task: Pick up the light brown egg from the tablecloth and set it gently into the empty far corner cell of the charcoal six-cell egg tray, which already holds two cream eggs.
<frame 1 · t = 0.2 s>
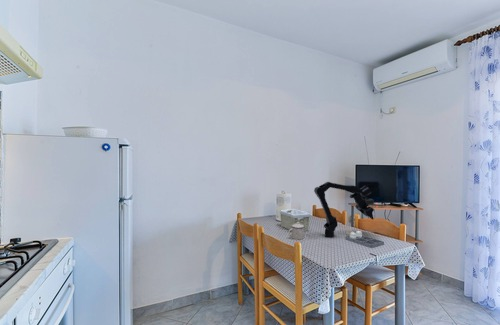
hand: (370, 217, 182), 15 cm above the table, tool tilted 30°, fingers open, 9 cm apart
cream egg 1: (352, 240, 173), point 1 cm above the table, touching egg tray
teacup with lid: (296, 238, 181), on the table
brown egg: (349, 236, 185), on the table
egg tray: (364, 243, 169), on the table
cream egg 2: (358, 238, 176), point 1 cm above the table, touching egg tray
storage basket: (294, 228, 207), on the table
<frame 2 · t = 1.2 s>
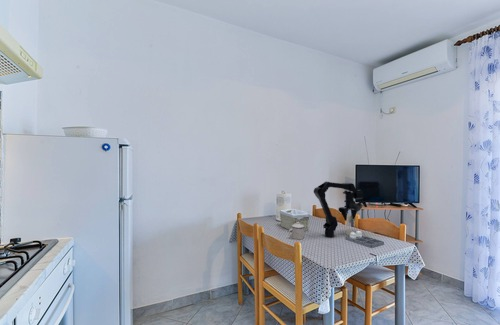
hand: (349, 219, 185), 12 cm above the table, tool pointing down, fingers open, 9 cm apart
nothing on the table moved.
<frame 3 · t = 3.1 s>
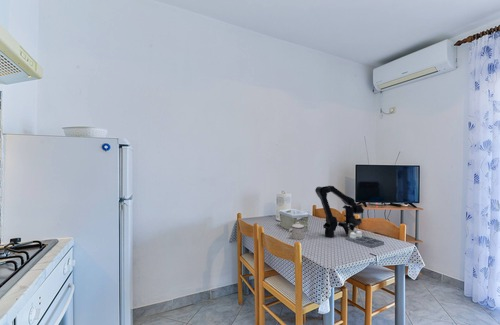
hand: (349, 234, 185), 1 cm above the table, tool pointing down, fingers closed on brown egg, 4 cm apart
brown egg: (349, 236, 185), on the table, touching gripper
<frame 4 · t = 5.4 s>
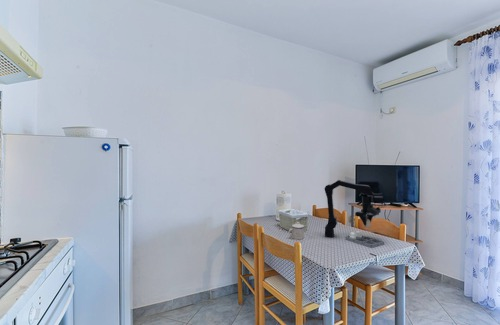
hand: (367, 225, 171), 12 cm above the table, tool pointing down, fingers closed on brown egg, 4 cm apart
brown egg: (367, 226, 171), point 11 cm above the table, touching gripper
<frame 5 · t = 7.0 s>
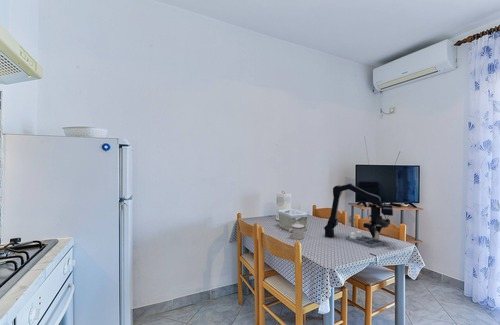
hand: (375, 237, 165), 6 cm above the table, tool pointing down, fingers closed on brown egg, 4 cm apart
brown egg: (375, 238, 165), point 4 cm above the table, touching gripper
when the fingers open (4 cm above the table, at t = 8.1 s): brown egg drops 1 cm, resting on egg tray.
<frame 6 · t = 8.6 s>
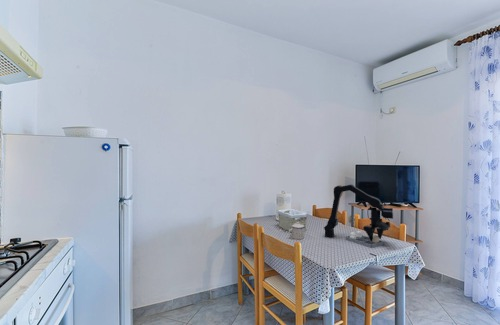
hand: (375, 239, 165), 4 cm above the table, tool pointing down, fingers open, 9 cm apart
brown egg: (375, 243, 165), point 1 cm above the table, touching egg tray
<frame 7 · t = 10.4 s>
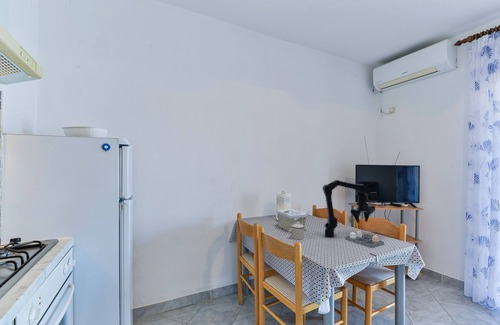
hand: (362, 222, 179), 12 cm above the table, tool pointing down, fingers open, 9 cm apart
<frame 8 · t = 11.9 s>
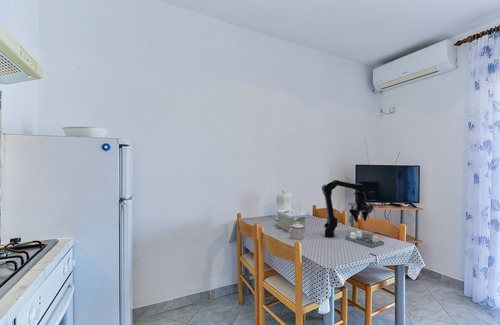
hand: (360, 221, 181), 12 cm above the table, tool pointing down, fingers open, 9 cm apart
at the end: brown egg 0.1 cm from the target spot, point 1.0 cm above the table; brown egg tilted 0°; the gripper is holding nothing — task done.
